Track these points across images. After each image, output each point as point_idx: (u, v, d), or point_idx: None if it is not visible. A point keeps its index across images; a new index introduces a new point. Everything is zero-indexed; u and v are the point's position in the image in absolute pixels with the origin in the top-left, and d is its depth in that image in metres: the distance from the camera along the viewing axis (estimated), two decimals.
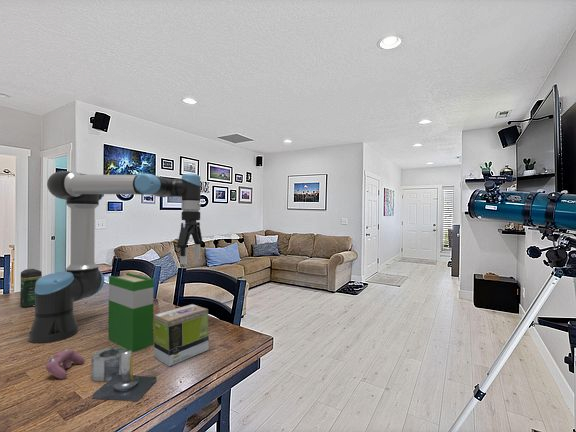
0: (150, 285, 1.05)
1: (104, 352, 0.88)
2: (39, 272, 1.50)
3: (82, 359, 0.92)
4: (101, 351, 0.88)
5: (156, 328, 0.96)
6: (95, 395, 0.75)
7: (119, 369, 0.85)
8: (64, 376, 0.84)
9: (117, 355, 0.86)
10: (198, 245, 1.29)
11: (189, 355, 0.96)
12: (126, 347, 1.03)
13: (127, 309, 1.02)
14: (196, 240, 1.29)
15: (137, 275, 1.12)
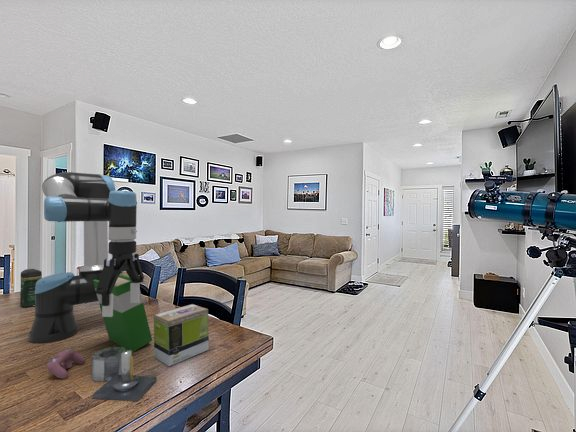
0: None
1: (104, 352, 0.88)
2: (39, 272, 1.50)
3: (83, 359, 0.92)
4: (101, 351, 0.88)
5: (156, 328, 0.96)
6: (95, 395, 0.75)
7: (119, 369, 0.85)
8: (65, 376, 0.84)
9: (117, 355, 0.86)
10: (136, 284, 0.97)
11: (189, 355, 0.96)
12: (125, 347, 1.03)
13: (117, 313, 1.00)
14: (133, 278, 0.97)
15: (121, 275, 1.07)
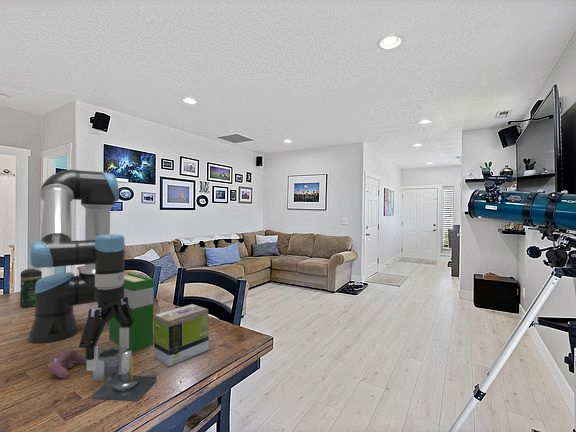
0: (150, 285, 1.05)
1: (104, 352, 0.88)
2: (39, 272, 1.50)
3: (84, 359, 0.92)
4: (101, 351, 0.88)
5: (156, 328, 0.96)
6: (95, 395, 0.75)
7: (119, 369, 0.85)
8: (66, 376, 0.84)
9: (117, 355, 0.86)
10: (126, 329, 0.93)
11: (189, 355, 0.96)
12: None
13: None
14: (122, 323, 0.93)
15: (138, 275, 1.12)
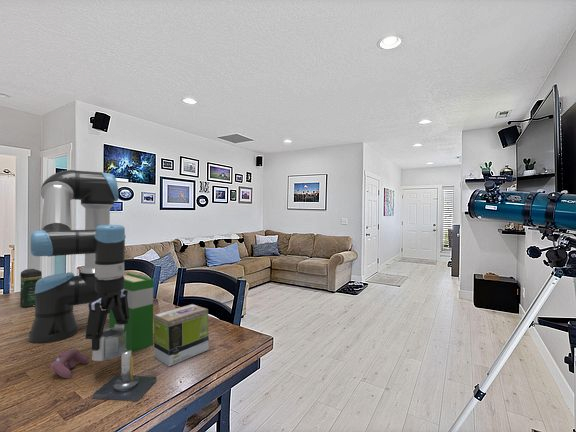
0: (150, 285, 1.05)
1: (104, 332, 0.89)
2: (39, 272, 1.50)
3: (86, 359, 0.92)
4: None
5: (156, 328, 0.96)
6: (95, 395, 0.75)
7: (119, 349, 0.86)
8: (69, 376, 0.84)
9: (116, 334, 0.86)
10: (121, 326, 0.91)
11: (189, 355, 0.96)
12: (126, 347, 1.03)
13: None
14: (118, 318, 0.91)
15: (137, 275, 1.12)
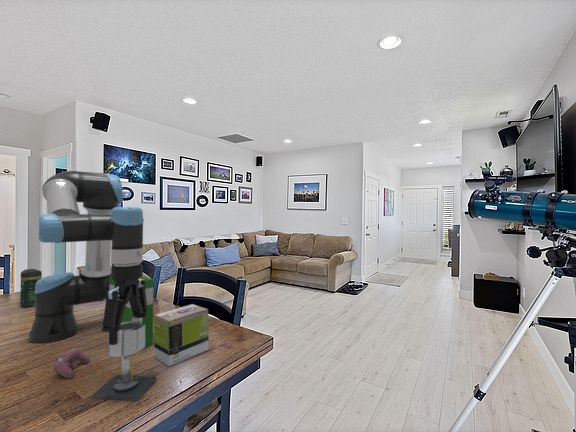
0: (150, 285, 1.05)
1: (121, 326, 0.80)
2: (39, 272, 1.50)
3: (88, 358, 0.93)
4: None
5: (156, 328, 0.96)
6: (95, 395, 0.75)
7: (138, 343, 0.77)
8: (71, 375, 0.84)
9: (135, 327, 0.78)
10: (139, 320, 0.83)
11: (189, 355, 0.96)
12: None
13: (127, 309, 1.02)
14: (136, 310, 0.83)
15: None
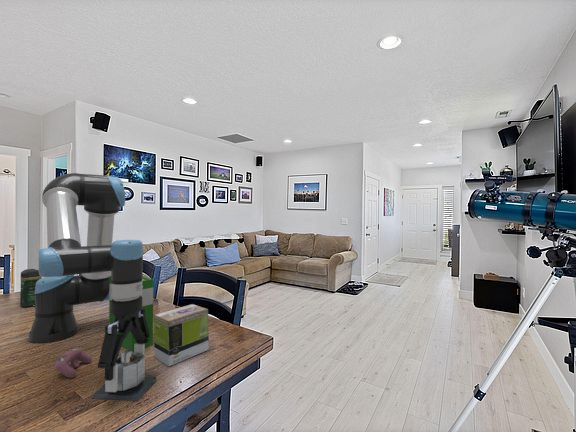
0: (150, 285, 1.05)
1: (120, 358, 0.80)
2: None
3: (90, 358, 0.93)
4: None
5: (156, 328, 0.96)
6: (95, 395, 0.75)
7: (138, 377, 0.77)
8: (73, 375, 0.84)
9: (135, 361, 0.78)
10: (141, 346, 0.85)
11: (189, 355, 0.96)
12: (126, 347, 1.03)
13: None
14: (138, 338, 0.84)
15: None
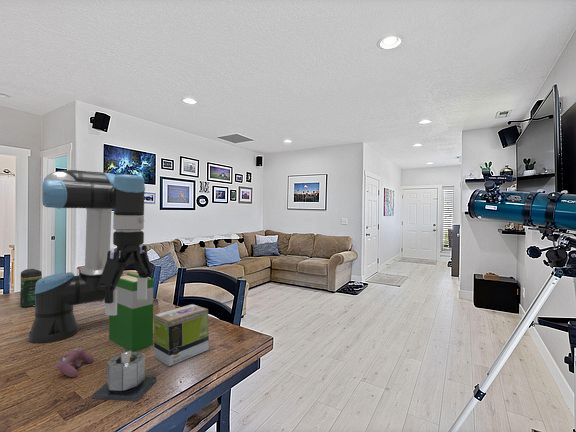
0: (150, 285, 1.05)
1: (120, 358, 0.80)
2: (39, 272, 1.50)
3: (91, 358, 0.93)
4: (117, 357, 0.80)
5: (156, 328, 0.96)
6: (95, 395, 0.75)
7: (138, 377, 0.77)
8: (75, 375, 0.85)
9: (135, 361, 0.78)
10: (144, 279, 0.88)
11: (189, 355, 0.96)
12: (126, 347, 1.03)
13: (127, 309, 1.02)
14: (141, 272, 0.88)
15: (137, 275, 1.12)
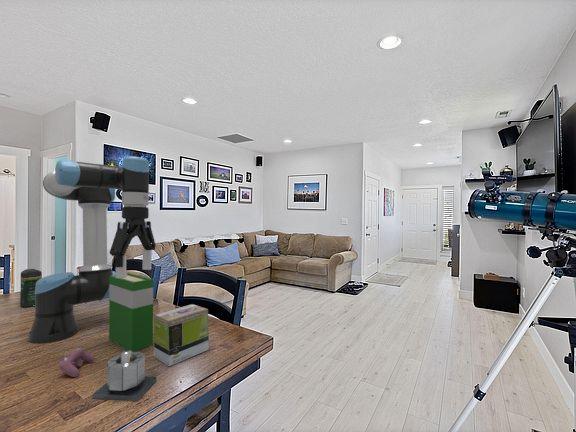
0: (150, 285, 1.05)
1: (120, 358, 0.80)
2: (39, 272, 1.50)
3: (93, 358, 0.93)
4: (117, 357, 0.80)
5: (156, 328, 0.96)
6: (95, 395, 0.75)
7: (138, 377, 0.77)
8: (77, 374, 0.85)
9: (135, 361, 0.78)
10: (148, 251, 0.99)
11: (189, 355, 0.96)
12: (126, 347, 1.03)
13: (127, 309, 1.02)
14: (146, 245, 0.98)
15: (137, 275, 1.12)
